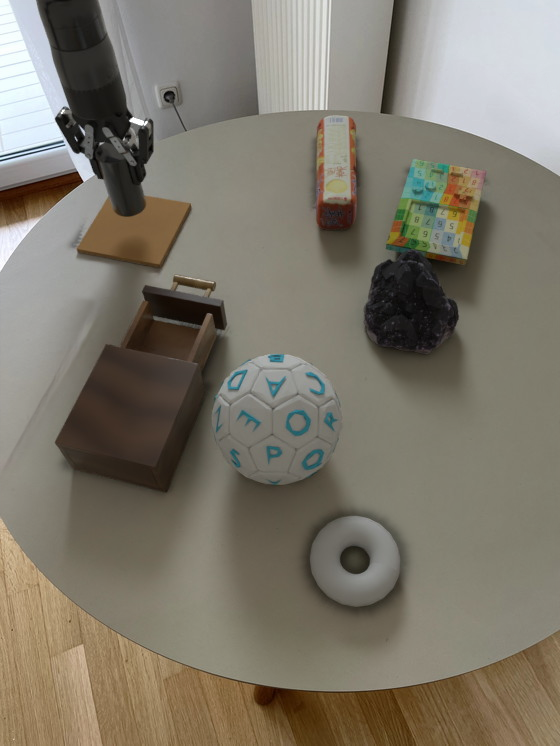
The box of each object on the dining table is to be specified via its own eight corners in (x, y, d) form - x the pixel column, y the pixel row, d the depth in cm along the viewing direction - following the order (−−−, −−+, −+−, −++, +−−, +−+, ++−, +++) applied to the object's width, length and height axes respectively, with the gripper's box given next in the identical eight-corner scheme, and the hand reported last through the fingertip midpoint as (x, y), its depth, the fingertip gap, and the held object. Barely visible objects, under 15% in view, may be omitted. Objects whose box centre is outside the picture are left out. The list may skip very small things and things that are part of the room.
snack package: (356, 232, 102) (358, 199, 96) (313, 232, 102) (314, 199, 97) (354, 146, 114) (356, 112, 108) (316, 146, 114) (317, 112, 109)
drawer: (163, 287, 96) (156, 262, 92) (236, 302, 94) (232, 277, 90) (114, 385, 87) (104, 363, 82) (195, 403, 85) (189, 381, 80)
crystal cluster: (427, 378, 87) (448, 332, 79) (340, 331, 91) (352, 283, 83) (465, 316, 94) (489, 268, 86) (383, 275, 98) (398, 225, 90)
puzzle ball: (213, 502, 78) (195, 444, 65) (226, 395, 86) (212, 325, 74) (340, 507, 77) (346, 449, 65) (340, 398, 85) (346, 328, 73)
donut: (310, 521, 76) (309, 609, 71) (310, 510, 73) (309, 600, 68) (395, 523, 76) (401, 611, 70) (399, 511, 73) (405, 602, 67)
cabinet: (119, 374, 89) (105, 343, 83) (206, 393, 87) (198, 363, 81) (72, 468, 81) (54, 442, 75) (166, 492, 79) (155, 467, 73)
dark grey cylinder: (107, 214, 99) (88, 160, 91) (120, 191, 102) (103, 137, 94) (138, 219, 99) (122, 165, 90) (151, 196, 101) (137, 142, 93)
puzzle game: (487, 166, 103) (468, 255, 92) (481, 189, 106) (461, 278, 96) (414, 153, 105) (386, 239, 95) (410, 177, 109) (383, 262, 98)
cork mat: (77, 252, 102) (76, 248, 101) (113, 193, 109) (112, 189, 109) (160, 268, 99) (159, 264, 99) (191, 206, 107) (190, 202, 106)
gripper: (152, 60, 83) (175, 169, 97) (50, 48, 85) (87, 155, 99) (129, 95, 79) (157, 203, 93) (23, 81, 81) (66, 188, 95)
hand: (121, 178), depth 96 cm, fingers closed on dark grey cylinder, 5 cm apart
